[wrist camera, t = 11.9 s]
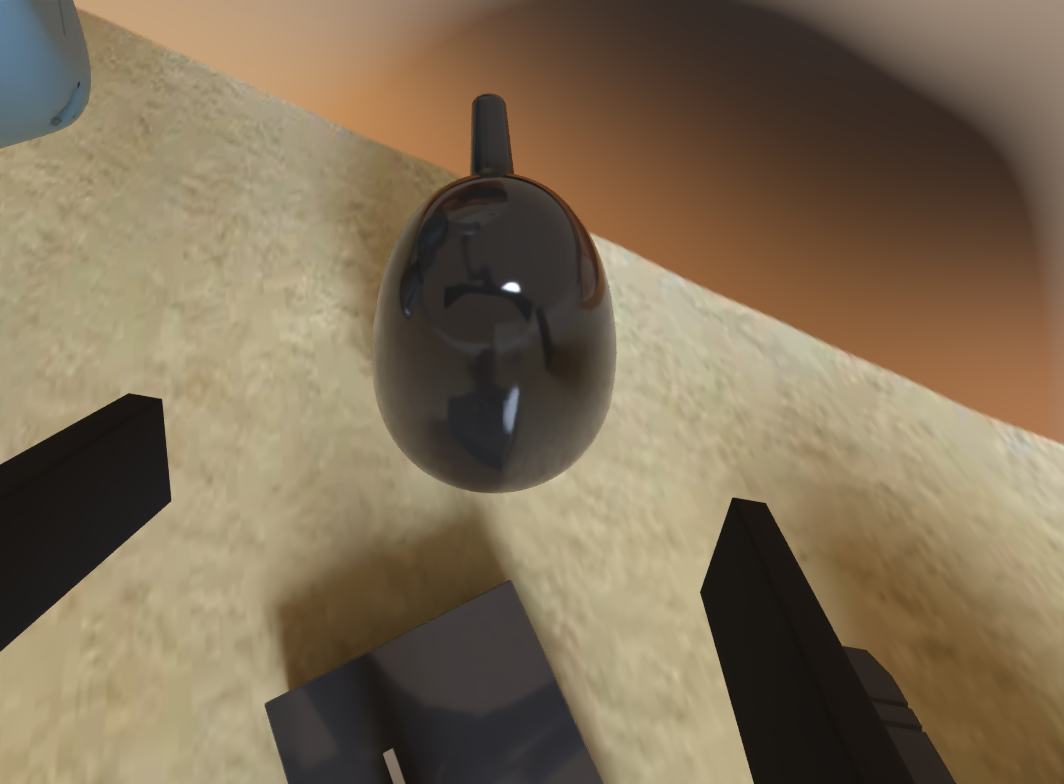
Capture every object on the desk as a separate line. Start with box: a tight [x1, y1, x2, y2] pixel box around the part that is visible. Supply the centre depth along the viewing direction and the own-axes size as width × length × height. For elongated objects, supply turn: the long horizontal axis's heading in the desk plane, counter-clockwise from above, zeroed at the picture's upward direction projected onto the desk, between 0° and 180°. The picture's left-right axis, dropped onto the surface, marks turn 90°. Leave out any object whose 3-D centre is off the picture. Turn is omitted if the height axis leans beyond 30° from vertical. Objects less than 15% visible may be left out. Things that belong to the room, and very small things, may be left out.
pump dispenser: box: [372, 94, 617, 493], centre depth 23 cm, size 10×10×15 cm
